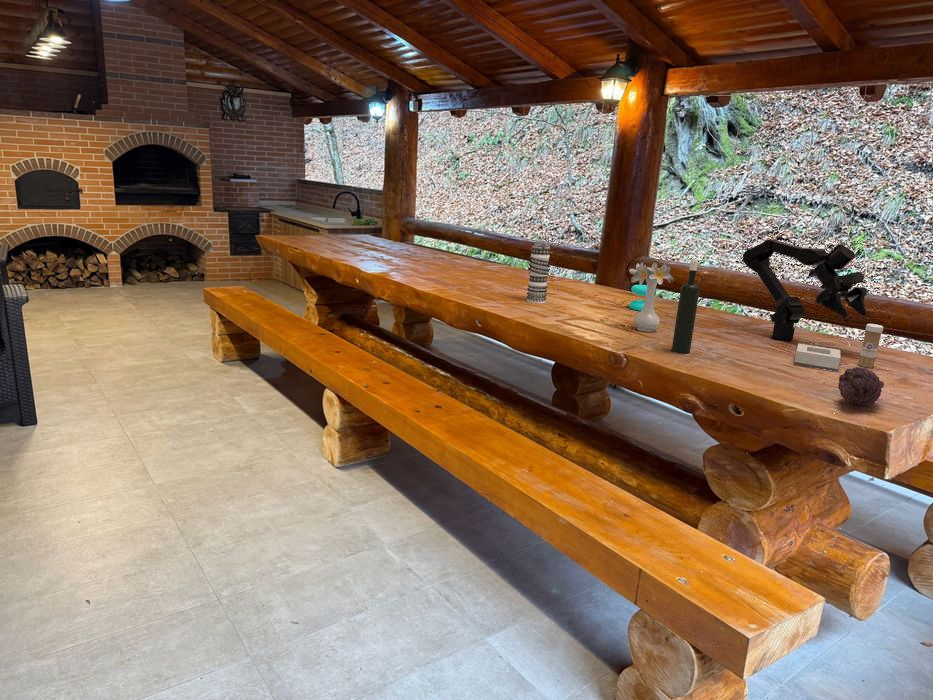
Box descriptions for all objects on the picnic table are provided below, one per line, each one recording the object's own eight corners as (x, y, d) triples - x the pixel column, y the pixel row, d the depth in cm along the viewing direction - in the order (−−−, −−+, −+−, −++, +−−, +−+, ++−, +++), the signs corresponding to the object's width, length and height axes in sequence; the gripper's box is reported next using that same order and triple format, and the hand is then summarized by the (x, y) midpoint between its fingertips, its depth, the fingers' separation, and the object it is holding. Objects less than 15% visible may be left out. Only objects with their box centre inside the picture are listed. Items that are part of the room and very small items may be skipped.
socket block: (793, 364, 201) (796, 351, 200) (795, 356, 211) (798, 343, 210) (837, 372, 196) (840, 358, 195) (837, 363, 206) (840, 349, 205)
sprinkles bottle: (858, 366, 204) (867, 325, 200) (856, 363, 208) (865, 322, 204) (874, 369, 202) (884, 327, 198) (872, 365, 206) (882, 324, 202)
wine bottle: (691, 351, 211) (705, 259, 203) (687, 354, 206) (702, 261, 198) (673, 348, 213) (687, 257, 205) (669, 351, 209) (683, 259, 201)
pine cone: (863, 418, 157) (872, 379, 154) (820, 406, 164) (828, 368, 161) (887, 404, 168) (896, 368, 165) (846, 393, 175) (854, 358, 173)
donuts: (635, 283, 279) (658, 286, 275) (632, 305, 282) (655, 309, 277) (629, 286, 271) (652, 289, 266) (626, 309, 274) (649, 312, 269)
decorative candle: (523, 299, 282) (527, 241, 276) (543, 299, 284) (548, 242, 277) (528, 303, 274) (533, 244, 267) (549, 303, 275) (555, 245, 269)
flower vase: (637, 322, 248) (646, 258, 242) (675, 334, 233) (685, 265, 227) (612, 325, 241) (620, 258, 235) (649, 337, 226) (659, 266, 220)
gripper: (828, 263, 207) (856, 301, 199) (866, 262, 214) (894, 299, 207) (804, 285, 215) (829, 322, 207) (841, 284, 223) (867, 320, 215)
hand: (856, 316), depth 209 cm, fingers open, 9 cm apart
